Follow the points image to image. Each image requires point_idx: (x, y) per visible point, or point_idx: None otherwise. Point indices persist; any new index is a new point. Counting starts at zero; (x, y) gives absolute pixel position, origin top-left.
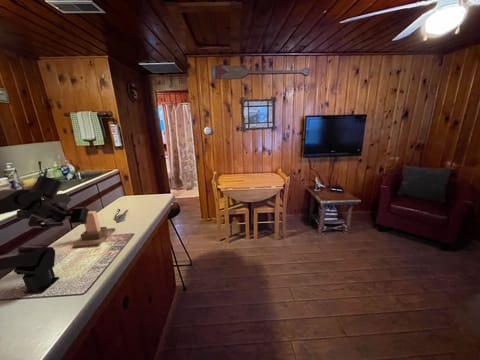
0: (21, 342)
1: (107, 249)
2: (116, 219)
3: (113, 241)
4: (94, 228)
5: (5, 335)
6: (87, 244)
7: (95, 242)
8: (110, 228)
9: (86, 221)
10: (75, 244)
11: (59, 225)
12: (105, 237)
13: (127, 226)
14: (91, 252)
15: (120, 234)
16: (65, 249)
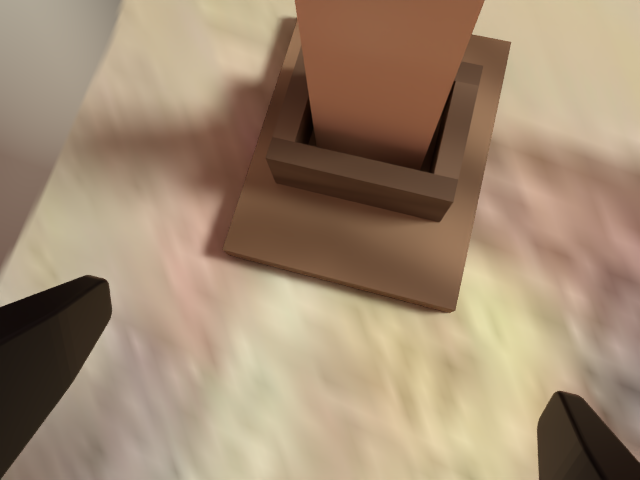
0: None
1: None
2: None
3: (562, 275)
4: (407, 124)
5: None
6: (352, 281)
7: (417, 271)
8: None
9: (595, 434)
10: (239, 233)
11: (61, 387)
12: (477, 197)
13: (600, 23)
14: (419, 407)
15: (585, 160)
16: (168, 250)
